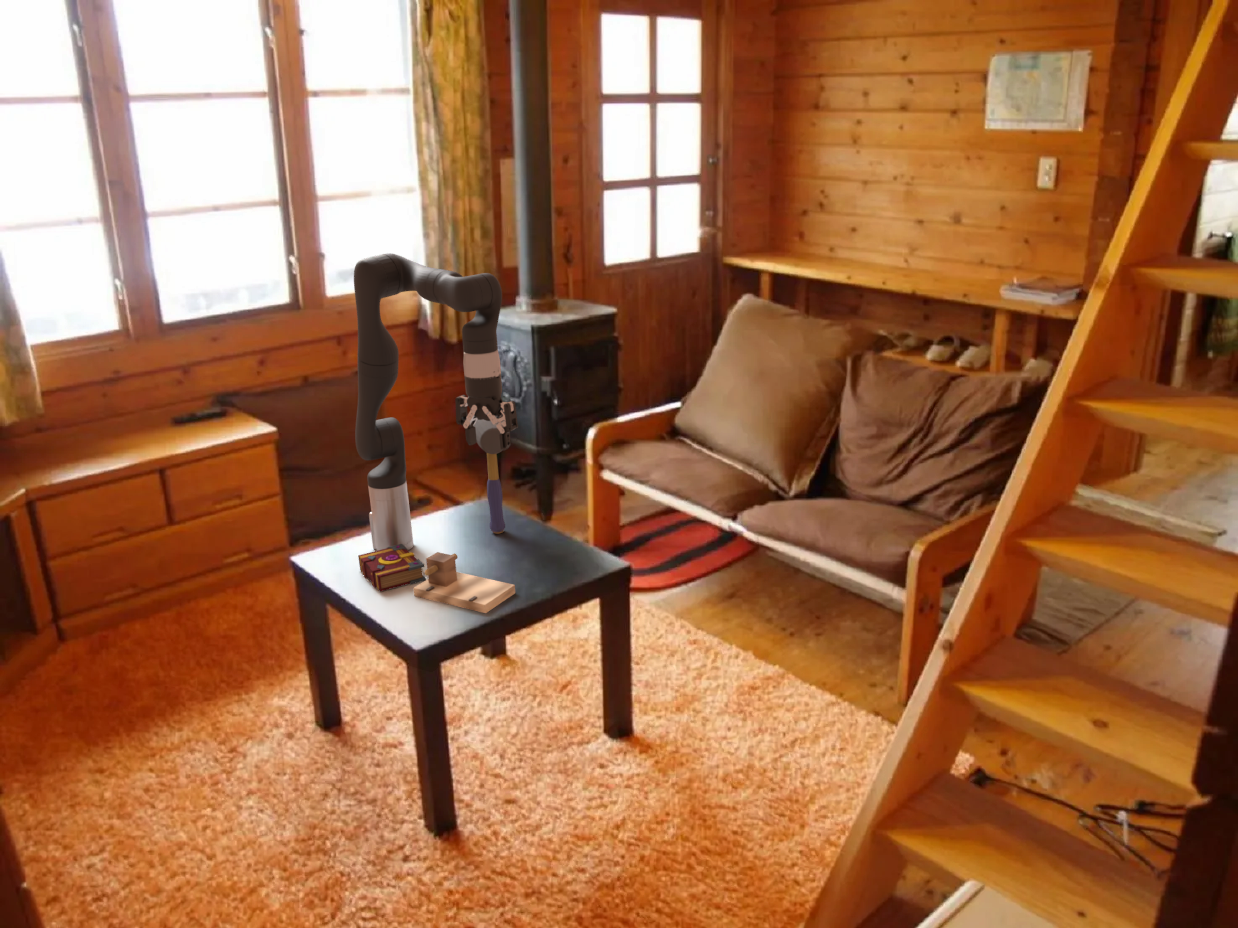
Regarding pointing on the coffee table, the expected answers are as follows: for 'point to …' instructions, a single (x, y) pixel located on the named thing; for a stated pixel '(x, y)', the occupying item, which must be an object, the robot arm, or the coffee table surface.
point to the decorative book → (391, 567)
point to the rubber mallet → (492, 471)
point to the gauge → (441, 569)
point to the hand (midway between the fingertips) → (488, 446)
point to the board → (467, 592)
